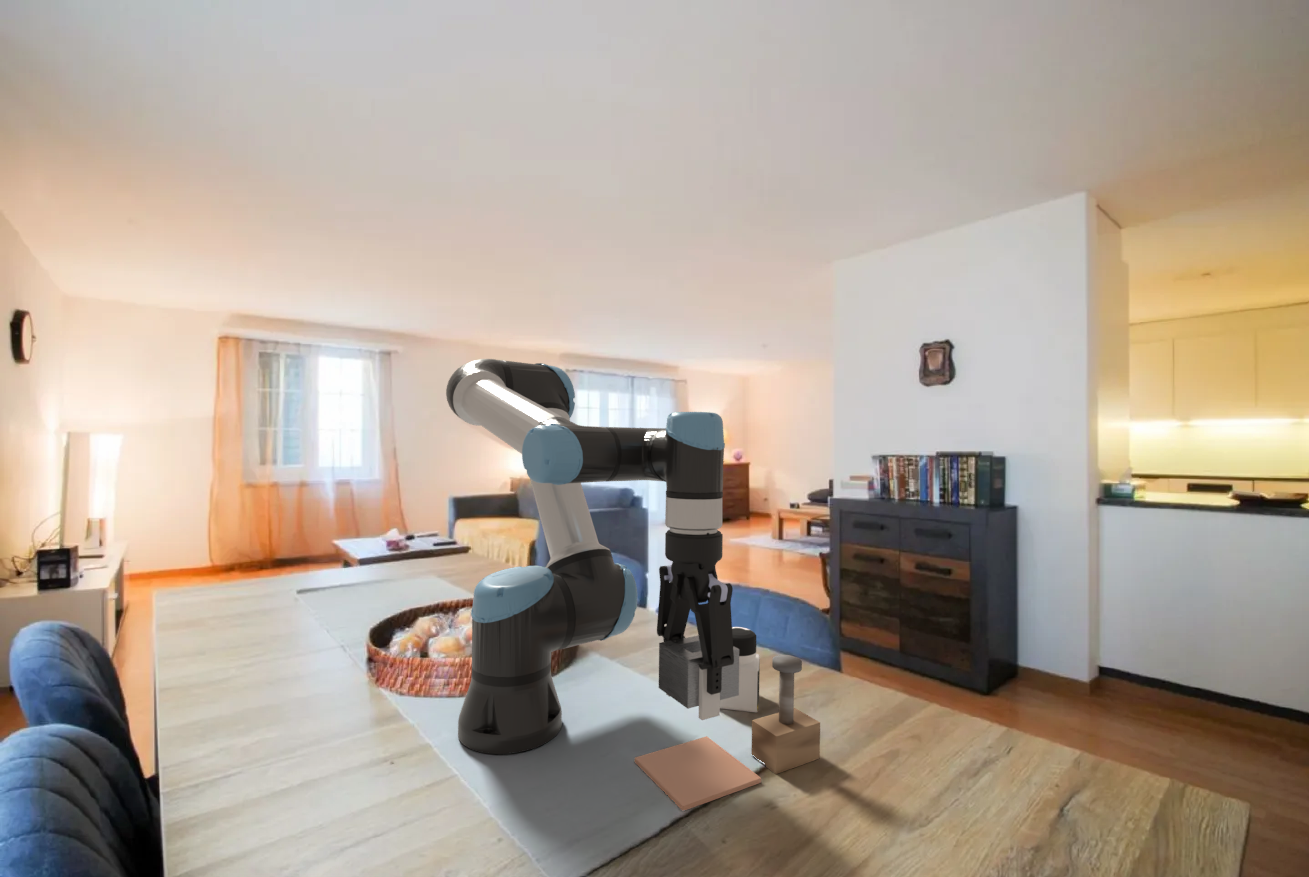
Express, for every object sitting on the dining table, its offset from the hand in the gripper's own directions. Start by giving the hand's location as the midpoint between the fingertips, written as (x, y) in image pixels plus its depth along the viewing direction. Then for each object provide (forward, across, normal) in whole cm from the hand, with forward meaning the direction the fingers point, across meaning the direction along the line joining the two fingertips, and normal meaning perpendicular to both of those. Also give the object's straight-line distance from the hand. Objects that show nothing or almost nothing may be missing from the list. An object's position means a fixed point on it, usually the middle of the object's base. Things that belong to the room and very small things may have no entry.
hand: (691, 704), depth 77 cm
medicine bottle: (+9, +14, -19) cm, 26 cm away
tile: (+9, 0, -1) cm, 9 cm away
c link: (-1, 0, -1) cm, 2 cm away
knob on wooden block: (+9, -3, -14) cm, 17 cm away
